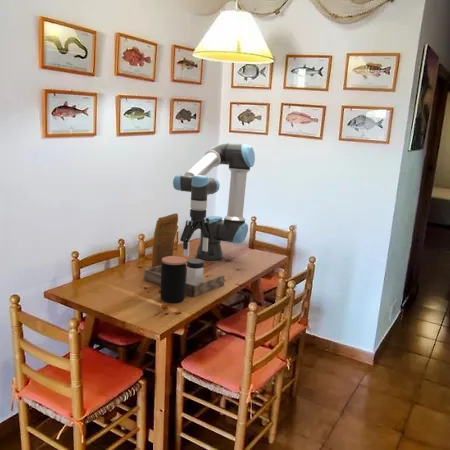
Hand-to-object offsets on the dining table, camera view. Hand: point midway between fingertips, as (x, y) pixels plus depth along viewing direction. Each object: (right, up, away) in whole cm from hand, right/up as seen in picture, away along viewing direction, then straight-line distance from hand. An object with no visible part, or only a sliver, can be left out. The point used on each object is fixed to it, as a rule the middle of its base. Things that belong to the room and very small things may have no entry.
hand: (195, 253), depth 218 cm
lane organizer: (-6, -14, +6) cm, 17 cm away
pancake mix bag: (-19, -9, +29) cm, 36 cm away
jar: (-1, -15, +4) cm, 16 cm away
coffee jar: (-9, -19, -16) cm, 26 cm away
